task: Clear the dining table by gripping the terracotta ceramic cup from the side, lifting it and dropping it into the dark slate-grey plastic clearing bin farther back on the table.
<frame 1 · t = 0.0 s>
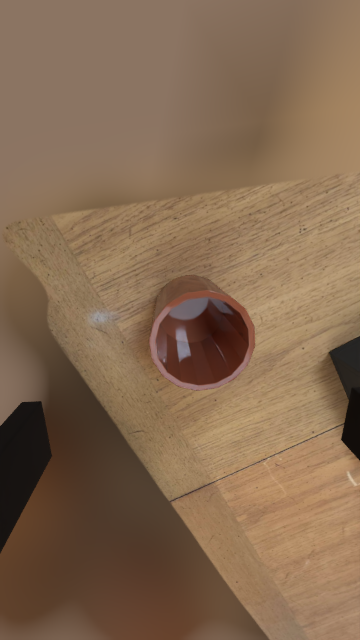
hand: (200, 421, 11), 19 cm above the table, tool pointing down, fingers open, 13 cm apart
cup: (190, 310, 29), on the table
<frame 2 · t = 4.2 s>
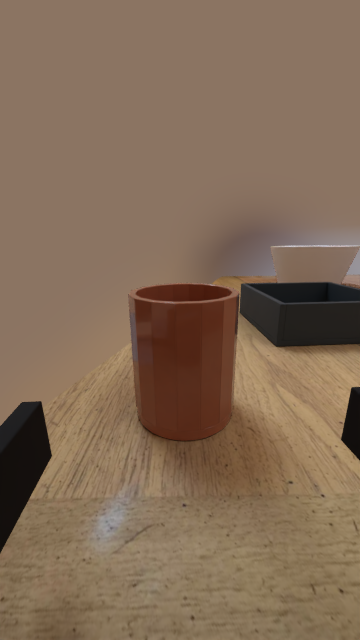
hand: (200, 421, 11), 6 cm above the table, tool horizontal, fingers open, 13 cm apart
bin: (305, 324, 43), on the table
white tapered round pot: (307, 286, 81), on the table
cup: (184, 406, 22), on the table
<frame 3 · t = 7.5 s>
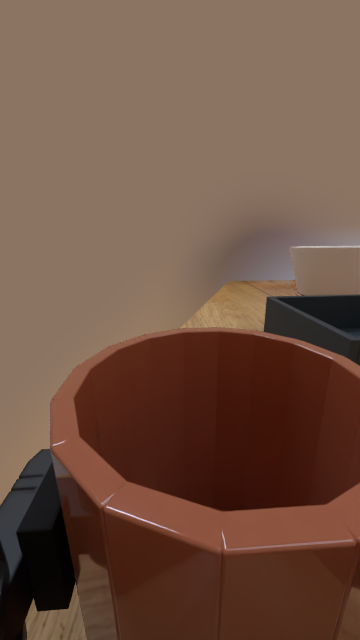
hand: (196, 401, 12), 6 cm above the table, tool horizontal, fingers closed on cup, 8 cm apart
white tapered round pot: (332, 294, 68), on the table
cup: (211, 615, 10), on the table, touching gripper
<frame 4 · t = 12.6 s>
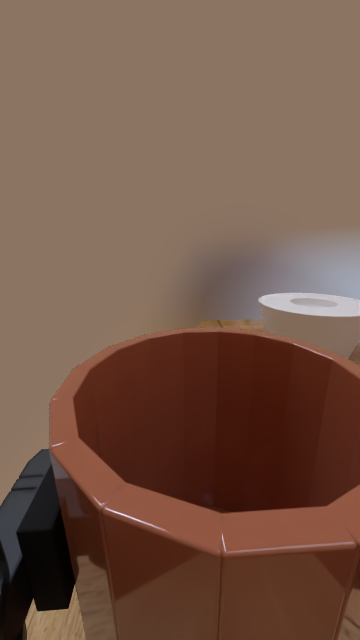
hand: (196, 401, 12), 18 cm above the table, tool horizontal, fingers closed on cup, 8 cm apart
white tapered round pot: (306, 351, 62), on the table
cup: (211, 616, 10), point 12 cm above the table, touching gripper
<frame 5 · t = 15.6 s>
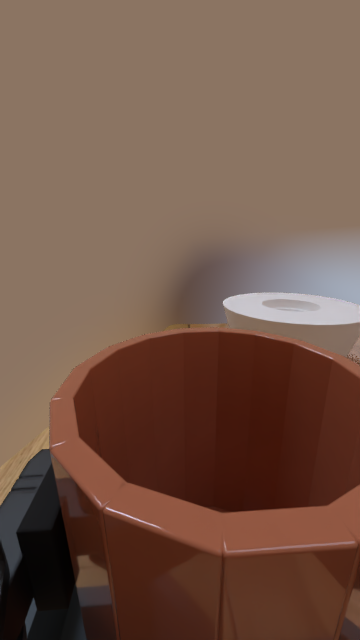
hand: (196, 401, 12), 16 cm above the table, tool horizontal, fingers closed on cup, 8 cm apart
white tapered round pot: (282, 366, 50), on the table
cup: (211, 616, 10), point 10 cm above the table, touching gripper
when the fingers open (9 cm above the table, at t = 18.0 s): cup drops 2 cm, resting on bin.
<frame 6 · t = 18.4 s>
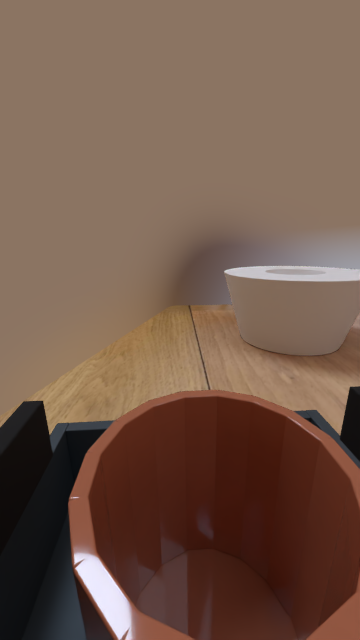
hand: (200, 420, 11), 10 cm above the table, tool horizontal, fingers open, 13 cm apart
white tapered round pot: (287, 337, 48), on the table
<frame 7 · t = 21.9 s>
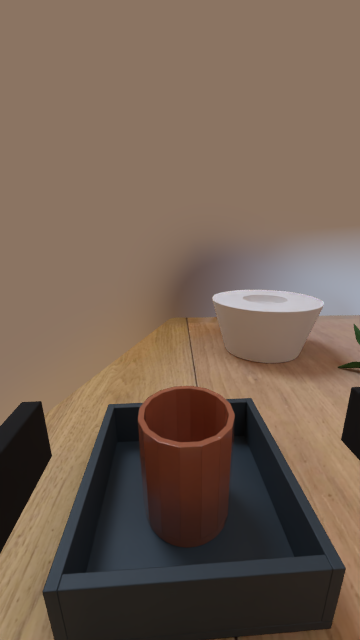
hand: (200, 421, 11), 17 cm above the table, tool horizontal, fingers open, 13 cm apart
bin: (186, 506, 25), on the table
white tapered round pot: (260, 348, 62), on the table
cup: (186, 500, 25), point 1 cm above the table, touching bin
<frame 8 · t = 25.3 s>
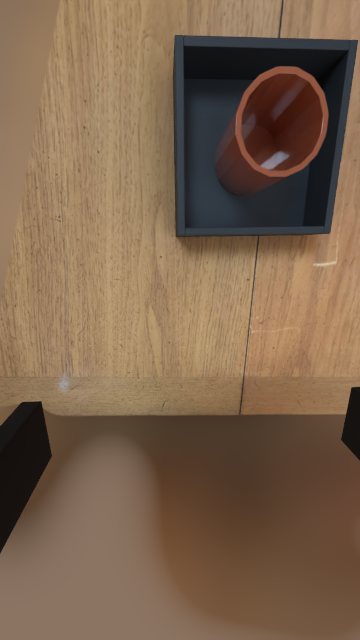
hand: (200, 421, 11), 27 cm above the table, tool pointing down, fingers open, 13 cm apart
bin: (244, 162, 32), on the table
cup: (246, 160, 31), point 1 cm above the table, touching bin
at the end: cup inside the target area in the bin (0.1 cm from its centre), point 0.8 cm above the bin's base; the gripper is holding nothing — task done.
